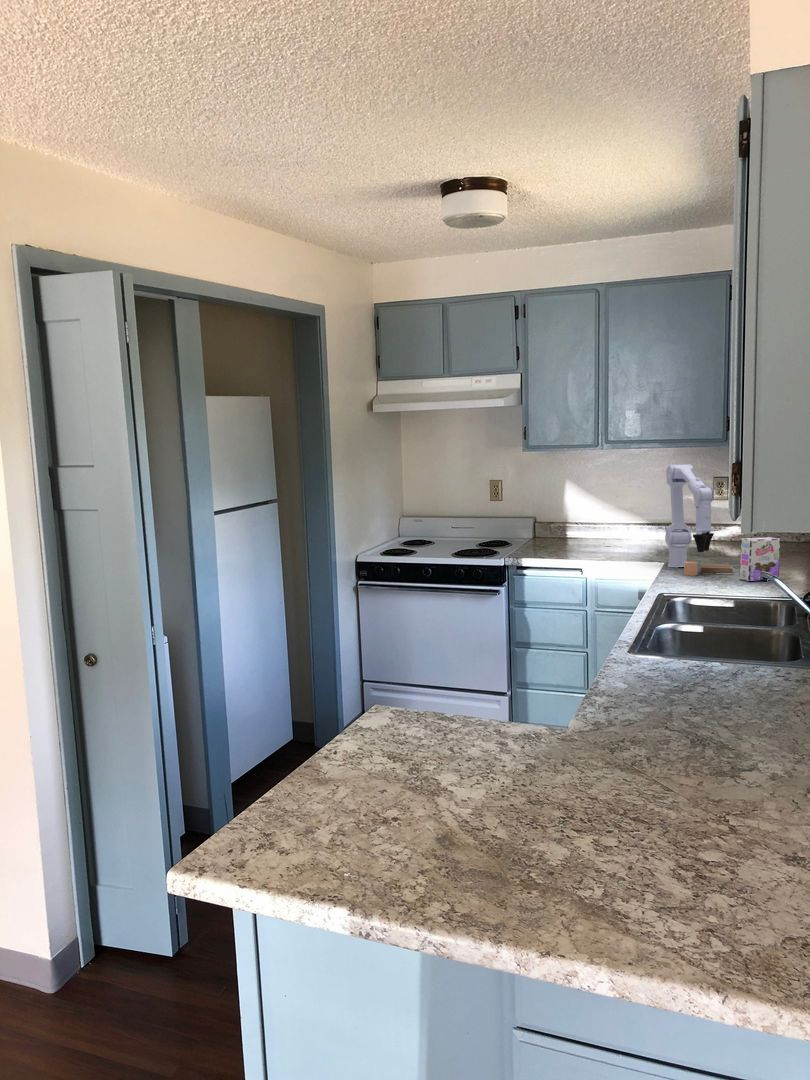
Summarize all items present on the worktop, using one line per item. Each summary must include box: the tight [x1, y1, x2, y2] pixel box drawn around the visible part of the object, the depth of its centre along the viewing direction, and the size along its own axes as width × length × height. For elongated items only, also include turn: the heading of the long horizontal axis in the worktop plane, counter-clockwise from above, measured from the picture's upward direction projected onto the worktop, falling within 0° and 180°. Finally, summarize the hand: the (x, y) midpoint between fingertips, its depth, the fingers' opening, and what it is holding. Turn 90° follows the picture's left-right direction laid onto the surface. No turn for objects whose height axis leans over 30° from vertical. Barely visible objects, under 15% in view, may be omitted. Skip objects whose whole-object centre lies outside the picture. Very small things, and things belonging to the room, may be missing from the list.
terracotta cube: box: [683, 561, 699, 576], centre depth 339 cm, size 5×5×5 cm
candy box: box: [739, 536, 781, 582], centre depth 323 cm, size 14×6×16 cm, turn 105°
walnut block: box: [699, 563, 733, 574], centre depth 345 cm, size 12×12×3 cm
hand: (703, 551), depth 335 cm, fingers open, 7 cm apart
